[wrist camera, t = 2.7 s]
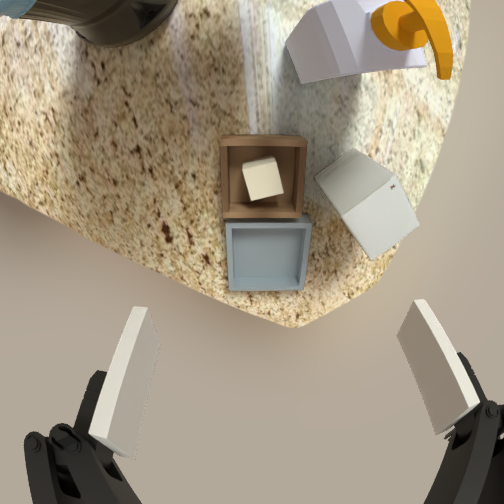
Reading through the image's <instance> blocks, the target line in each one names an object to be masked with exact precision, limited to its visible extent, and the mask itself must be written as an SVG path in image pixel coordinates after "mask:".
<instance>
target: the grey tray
mask: <svg viewBox="0 0 504 504" xmlns="http://www.w3.org/2000/svg"><path fill="white" fill-rule="evenodd" d="M312 224H313V223H312V221H311V219H310V217H309V214H302V218H226V222H225V227H226V247H227V264H228V281H229V291H284V290H304V284H305V277H306V270H307V263H308V256H309V248H310V240H311V232H312Z"/></svg>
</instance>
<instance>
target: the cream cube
mask: <svg viewBox="0 0 504 504" xmlns="http://www.w3.org/2000/svg"><path fill="white" fill-rule="evenodd" d="M242 171H243V174H244V178H245V181H246V185H247V188H248V191H249V195H250V198H251V201H253V200H257V199H261V198H265V197H269V196H273V195H277V194H282V193H284V192H283V188H282V184H281V179H280V175H279V171H278V167H277V163H276V160H275V158H274V155H269V156H265V157H261V158H257V159H253V160H249V161H245V162H243V167H242Z"/></svg>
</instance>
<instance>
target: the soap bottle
mask: <svg viewBox="0 0 504 504" xmlns="http://www.w3.org/2000/svg"><path fill="white" fill-rule="evenodd" d="M404 1H405V2H404ZM428 39H429V41H430V44H431V46H432V49H433V52H434V56H435V61H436V69H437V77H438V78H439V79H441V80H447V79H450V78H451V72H452V65H453V50H452V44H451V39H450V35H449V31H448V27H447V24H446V21H445V18H444V16H443V14H442V11H441V9H440V8H439V6H438V5H437V3H436V2H435V0H329V1H326V2H323V3H321V4H318V5H315V6H314V7H312V8H311V9H309V10H308V11H307V12H306V13H305V15H304V16H303V17H302V19H301V20H300V21H299V23H298V24H297V26H296V27H295V28H294V30H293V31H292V33H291V34H290V35H289V37H288V38H287V40H286V41H285V44H286V46H287V49H288V51H289V54H290V56H291V59H292V61H293V64H294V66H295V69H296V72H297V75H298V77H299V80H300V83H301V84H306V83H311V82H315V81H320V80H325V79H331V78H336V77H342V76H348V75H354V74H361V73H368V72H375V71H384V70H393V69H405V68H419V67H427V63H426V60H425V56H424V53H423V50H422V47H423V46H424V45H425V44H426V43H427V42H428Z"/></svg>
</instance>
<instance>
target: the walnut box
mask: <svg viewBox="0 0 504 504" xmlns="http://www.w3.org/2000/svg"><path fill="white" fill-rule="evenodd" d="M306 152H307V140H306V139H304V138H303V137H302V136H293V135H222V137H221V138H220V168H221V192H222V214H223V218H302V207H303V195H304V182H305V168H306ZM269 155H274V158H275V160H276V163H277V167H278V171H279V175H280V179H281V184H282V188H283V192H284V193H282V194H277V195H273V196H269V197H265V198H261V199H257V200H253V201H251V198H250V195H249V191H248V188H247V185H246V181H245V178H244V174H243V171H242V167H243V162H245V161H249V160H253V159H257V158H261V157H265V156H269Z"/></svg>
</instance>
